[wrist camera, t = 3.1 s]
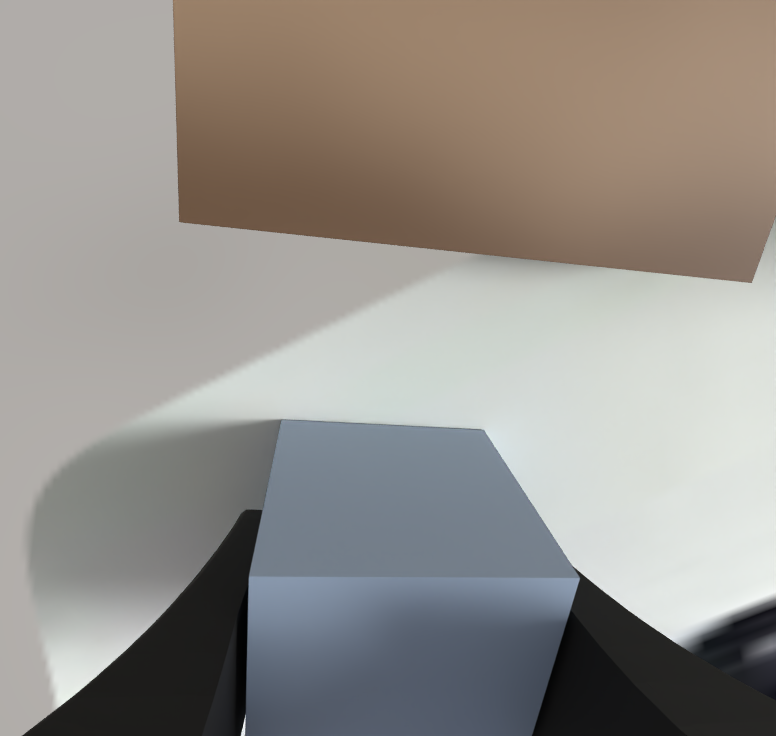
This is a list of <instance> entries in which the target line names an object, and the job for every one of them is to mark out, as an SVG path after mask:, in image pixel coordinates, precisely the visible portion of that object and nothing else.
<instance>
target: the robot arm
mask: <svg viewBox="0 0 776 736" xmlns="http://www.w3.org/2000/svg"><path fill="white" fill-rule="evenodd" d="M262 511H263V510H245V511H244V512H243V513H241V515H240V516H239V518H238V520H237V521H236V523H235V525H234V526H233V528H232V529H231V531H230V532H229V534H228V535H227V537H226V538H225V539H224V541H223V542H222V544H221V545H220V546H219V548H218V549H217V550H216V552H215V553H214V554H213V556H212V557H211V558H210V559H209V561H208V562H207V563H206V565H205V566H204V567H203V568H202V570H201V571H200V572H199V573H198V575H197V576H196V577H195V578H194V579H193V581H192V582H191V583H190V584H189V585H188V586H187V587H186V589H185V590H184V591H183V592H182V593H181V594H180V595H179V597H178V598H177V599H176V600H175V601H174V602H173V603H172V604H171V606H170V607H169V608H168V609H167V610H166V611H165V612H164V613H163V614H162V615H161V616H160V617H159V618H158V619H157V620H156V622H155V623H154V624H153V625H152V626H151V627H150V628H149V629H148V630H147V631H146V632H145V633H144V634H143V635H141V636H140V637H139V638H138V639H137V640H136V641H135V642H134V643H133V644H132V645H131V646H130V647H129V648H128V649H127V650H126V651H125V652H124V653H122V654H121V655H120V656H119V657H118V658H117V659H116V660H115V661H114V662H112V663H111V664H110V665H109V666H108V667H107V668H106V669H105V670H103V671H102V672H101V673H100V674H99V675H98V676H97V677H96V678H94V679H93V680H92V681H91V682H90V683H88V684H87V685H86V686H85V687H84V688H83V689H81V690H80V691H79V692H78V693H76V694H75V695H74V696H73V697H72V698H70V699H69V700H68V701H66V702H65V703H64V704H63V705H61V706H60V707H59V708H57V709H56V710H55V711H54V712H52V713H51V714H50V715H48V716H47V717H46V718H44V719H43V720H42V721H41V722H39V723H38V724H37V725H35V726H34V727H33V728H32V729H30V730H29V731H28V732H26V733H25V734H24V735H23V736H241V732H242V728H243V723H244V719H245V715H246V683H247V638H248V593H249V574H250V569H251V564H252V559H253V554H254V550H255V545H256V540H257V535H258V530H259V526H260V521H261V516H262ZM573 568H574V567H573ZM574 569H575V568H574ZM575 571H576V573H577V574H578V576H579V577H580V580H579V583H578V587H577V590H576V593H575V596H574V600H573V603H572V606H571V609H570V613H569V616H568V619H567V623H566V626H565V629H564V632H563V636H562V639H561V642H560V645H559V649H558V652H557V655H556V659H555V662H554V665H553V668H552V672H551V675H550V678H549V681H548V685H547V688H546V691H545V694H544V698H543V701H542V704H541V708H540V711H539V714H538V717H537V721H536V724H535V727H534V730H533V734H532V736H776V701H775V700H773V699H772V698H770V697H768V696H766V695H764V694H762V693H760V692H758V691H756V690H754V689H753V688H751V687H749V686H747V685H745V684H743V683H742V682H740V681H738V680H736V679H734V678H733V677H731V676H729V675H727V674H726V673H724V672H722V671H721V670H719V669H717V668H716V667H714V666H712V665H711V664H709V663H707V662H705V661H704V660H702V659H700V658H699V657H697V656H695V655H694V654H692V653H690V652H689V651H687V650H686V649H684V648H683V647H681V646H679V645H678V644H676V643H675V642H673V641H672V640H670V639H669V638H667V637H666V636H664V635H663V634H661V633H660V632H658V631H657V630H655V629H654V628H652V627H651V626H649V625H648V624H647V623H645V622H644V621H642V620H641V619H639V618H638V617H637V616H635V615H634V614H632V613H631V612H630V611H628V610H627V609H626V608H624V607H623V606H622V605H620V604H619V603H618V602H616V601H615V600H614V599H613V598H611V597H610V596H609V595H607V594H606V593H605V592H603V591H602V590H601V589H600V588H598V587H597V586H596V585H595V584H593V583H592V582H591V581H590V580H589V579H587V578H586V577H585V576H584V575H582V574H581V573H580V572H579V571H578V570H576V569H575Z"/></svg>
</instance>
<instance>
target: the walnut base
mask: <svg viewBox="0 0 776 736" xmlns="http://www.w3.org/2000/svg"><path fill="white" fill-rule="evenodd" d="M173 17H174V52H175V88H176V122H177V157H178V191H179V192H178V193H179V222H183V223H192V224H201V225H211V226H220V227H231V228H240V229H249V230H258V231H268V232H277V233H287V234H296V235H306V236H315V237H324V238H333V239H343V240H352V241H362V242H372V243H381V244H390V245H399V246H409V247H419V248H428V249H438V250H447V251H456V252H466V253H475V254H484V255H494V256H503V257H513V258H522V259H531V260H541V261H550V262H560V263H569V264H579V265H588V266H597V267H607V268H616V269H626V270H635V271H644V272H654V273H663V274H673V275H682V276H692V277H701V278H710V279H720V280H729V281H739V282H748V283H752V280H753V278H754V275H755V272H756V269H757V266H758V264H759V261H760V258H761V255H762V253H763V250H764V247H765V244H766V241H767V239H768V236H769V233H770V230H771V228H772V225H773V222H774V219H775V217H776V0H173Z"/></svg>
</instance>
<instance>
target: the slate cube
mask: <svg viewBox="0 0 776 736" xmlns="http://www.w3.org/2000/svg"><path fill="white" fill-rule="evenodd" d="M579 580H580V577H579V576H578V574H577V573H576V571H575V569H574V568H573V566H572V565H571V563H570V562H569V560H568V559H567V557H566V556H565V554H564V553H563V551H562V549H561V548H560V546H559V545H558V543H557V542H556V540H555V539H554V537H553V536H552V534H551V533H550V531H549V530H548V528H547V526H546V525H545V523H544V522H543V520H542V519H541V517H540V516H539V514H538V513H537V511H536V510H535V508H534V506H533V505H532V503H531V502H530V500H529V499H528V497H527V496H526V494H525V493H524V491H523V490H522V488H521V486H520V485H519V483H518V482H517V480H516V479H515V477H514V476H513V474H512V473H511V471H510V470H509V468H508V467H507V465H506V463H505V462H504V460H503V459H502V457H501V456H500V454H499V453H498V451H497V450H496V448H495V447H494V445H493V443H492V442H491V440H490V439H489V437H488V436H487V434H486V433H485V431H484V430H474V429H455V428H435V427H415V426H396V425H376V424H357V423H337V422H317V421H298V420H281V425H280V430H279V435H278V439H277V444H276V449H275V454H274V459H273V463H272V468H271V473H270V478H269V483H268V487H267V492H266V497H265V502H264V507H263V511H262V516H261V521H260V526H259V530H258V535H257V540H256V545H255V550H254V554H253V559H252V564H251V569H250V574H249V593H248V638H247V683H246V728H245V736H532V734H533V730H534V727H535V724H536V721H537V717H538V714H539V711H540V708H541V704H542V701H543V698H544V694H545V691H546V688H547V685H548V681H549V678H550V675H551V672H552V668H553V665H554V662H555V659H556V655H557V652H558V649H559V645H560V642H561V639H562V636H563V632H564V629H565V626H566V623H567V619H568V616H569V613H570V609H571V606H572V603H573V600H574V596H575V593H576V590H577V587H578V583H579Z"/></svg>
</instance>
